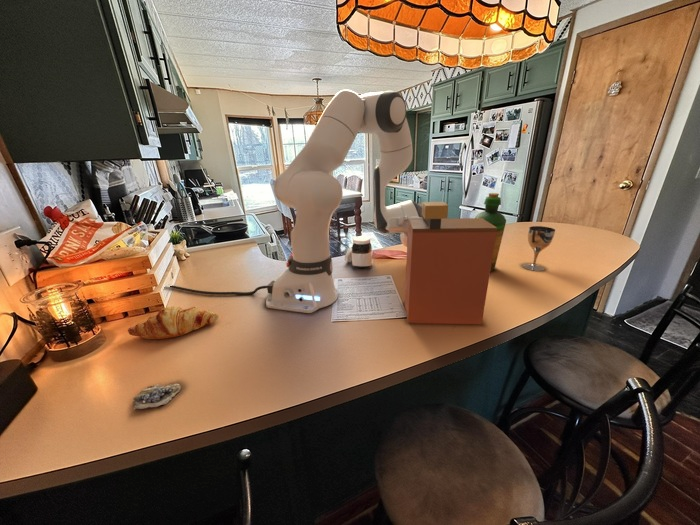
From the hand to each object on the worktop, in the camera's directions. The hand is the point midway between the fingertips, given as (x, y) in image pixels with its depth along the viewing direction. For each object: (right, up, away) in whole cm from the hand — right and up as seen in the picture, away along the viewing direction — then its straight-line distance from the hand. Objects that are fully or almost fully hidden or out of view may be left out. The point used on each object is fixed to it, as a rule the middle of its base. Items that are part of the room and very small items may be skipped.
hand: (420, 217), depth 86 cm
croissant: (-69, -33, -12) cm, 77 cm away
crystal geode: (-60, -40, -32) cm, 79 cm away
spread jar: (-19, -15, +27) cm, 36 cm away
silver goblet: (+48, -16, +19) cm, 54 cm away
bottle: (+29, -16, +20) cm, 39 cm away
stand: (+3, -28, -8) cm, 30 cm away
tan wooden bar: (-1, -2, -13) cm, 13 cm away
